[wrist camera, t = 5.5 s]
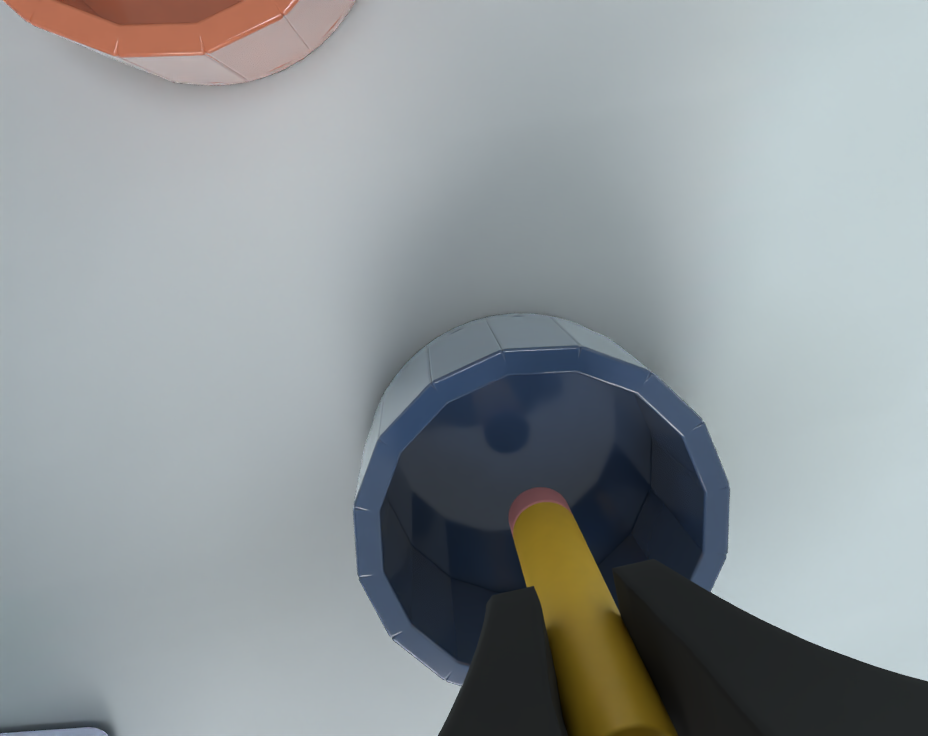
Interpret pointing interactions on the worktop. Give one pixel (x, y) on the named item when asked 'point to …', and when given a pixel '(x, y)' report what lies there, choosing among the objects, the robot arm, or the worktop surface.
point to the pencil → (583, 625)
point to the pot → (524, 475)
